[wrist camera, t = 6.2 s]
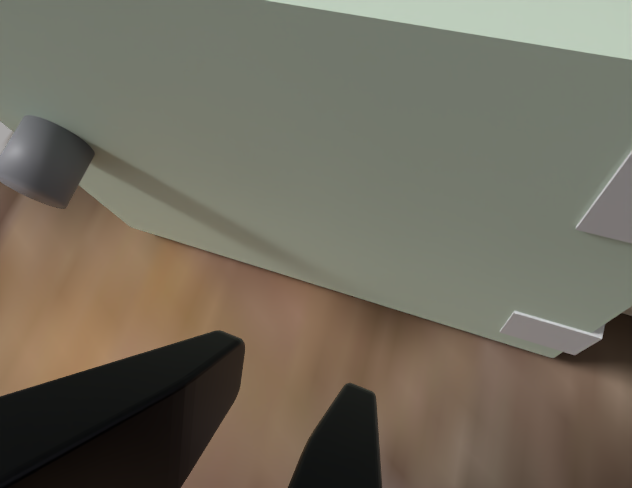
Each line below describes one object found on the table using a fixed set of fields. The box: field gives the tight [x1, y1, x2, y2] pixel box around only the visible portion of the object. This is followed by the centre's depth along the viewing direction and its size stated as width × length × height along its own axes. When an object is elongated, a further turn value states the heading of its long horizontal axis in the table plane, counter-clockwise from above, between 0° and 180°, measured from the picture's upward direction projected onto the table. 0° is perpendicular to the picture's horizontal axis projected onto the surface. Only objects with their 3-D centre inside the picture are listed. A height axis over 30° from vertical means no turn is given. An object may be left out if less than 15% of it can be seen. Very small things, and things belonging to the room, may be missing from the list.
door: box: [0, 0, 632, 358], centre depth 10 cm, size 3×12×10 cm, turn 70°
